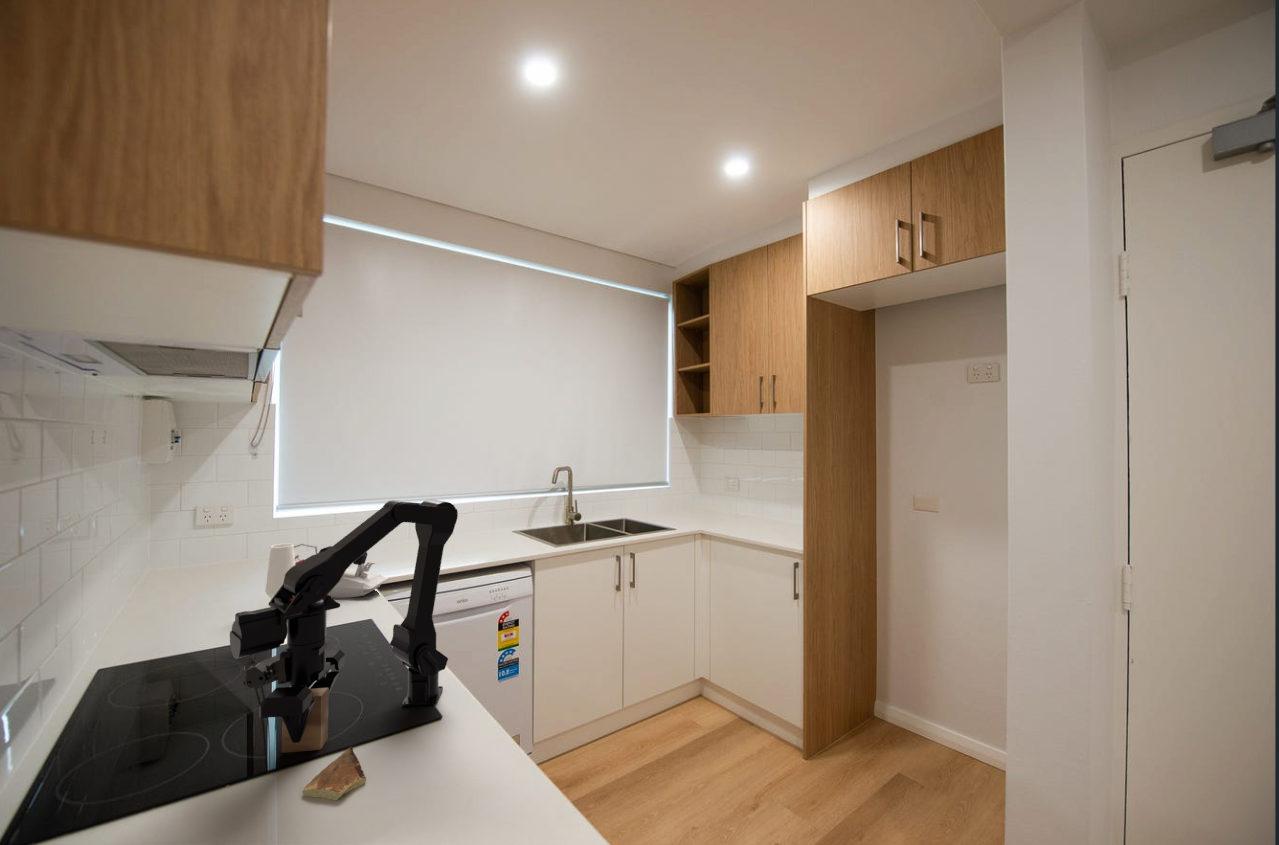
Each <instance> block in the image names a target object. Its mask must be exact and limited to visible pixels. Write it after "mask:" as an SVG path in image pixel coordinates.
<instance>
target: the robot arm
mask: <svg viewBox="0 0 1279 845" xmlns="http://www.w3.org/2000/svg"><path fill="white" fill-rule="evenodd" d="M458 512H459V511H458V508H456V506H455V505H454V504H452V503H451V502H449V501H444V500H437V499H433V498H432V499H426V500H423V501H422V502H421V503H420V502H411V501H409V502H407V501H399V500H395V499H392V500H389V501H387V502H385V503H384V505H382V507H381V508H380V509H378V511H375V513H374V514H372V515H371V516H370V517H368V518H367V519H366V520H365V521H363V522H361V523H360V524H359V525H357V526H356V527H355V528H354V529H353V530H351V531H350V532H349V533H348V534H346V535H345V536H343V538H341V539H340V540H339V541H337V542H336V543H335V544H333V545H331V546H332V547H331V548H329V549H327V550H325V551H323V552H320V553H319V552H317V553H318V554H316V553H315V554H313V556H312V555H311V556H308V557H307V558H306V559H304V560H303V559H302V560H303V561H302V562H300V563H298V564H296V565H295V566H293V567H291V568H290V569H289V570H288V571H287V573H286V574H285V578H284V582H283V583H284V584H283V585H282V586H281V587H280V589H279V590H278V591H277V593H276V594H275V595H274V597H273V598H272V599H271V598H270V601H269V602H268V606H269V607H265V608H260V609H256V610H255V609H254V610H246V611H241V612H237V613H235V615H234V621H233V622H232V625H231V631H229V646H230V651H231V654H232V656H233V658H234V659H235V660H237V659H241V658H246V657H249V656H253V655H257V654H260V653H264V652H267V651H270V650H275V649H278V648H279V647H280V646H281V645H280V644H284V641H285V639H286V637H287V644H286V648H285V649H283V650H282V651H281V652H280V653H279V654H276V655H273V656H272V657H269V658H267V659H264V660H262V661H259V662H258V663H256V664H255V665H251V666H250V667H248V668H247V669H246V670H245V674H244V675H243V677H244V681H243V682H242V683H243V685H244V686H246V687H247V688H248V689H251V690H252V691H256V690H259V689H260V688H261V687H263V686H267V685H268V684H271V683H274V682H276V681H277V684H278V685H283V684H284V685H285V684H287V683H289V686H285V687H283V686H282V687H276V688H275V689H274V690H273V691H271V692H270V693H269V694H268V695H267V696H266V697H265V698H264V699H263V700H262V701H261V702H260V703H259V704H258V717H259V718H260V719H265V718H269V719H270V718H279V717H280V718H281V720H282V719H283V721H284V723H285V725H286V728H287V730H288V733H289V735H290V738H291V740H292V742H293V743H298V742H300V741H301V738H302V736H303V733H304V731H305V728H306V725H307V722H308V720H309V717H310V714H311V712H312V709H313V706H314V703H315V700H311V699H312V691H311V690H310V689H315V688H329V694H330V693H331V690H332V689H333V687H334V684H335V682H336V681H337V678H338V677H339V675H340V670H341V669H342V668H343V667H344V666H345V664H346V653H344V652H343V651H342V650H341V649H332V650H330V649H329V650H327V649H328V647H330V645H331V642H332V640H331V638H327V620H328V619H327V618H328V616H327V615H328V614H327V612H328V611H330V610H334V609H339V608H340V607H341V603H340V602H338V601H336V600H335V599H334V598H333V597H331V596H330V595H328V594H329V592H330V591H331V590H332V589H333V588H334V587H335V586H336V585H337V584H338V583H339V581H340V580H341V578H342V576H343V575H344V573H345V571H346V570H347V568H350V566H352V565H353V562H355V561H356V560H357V559H358V558H360V557H361V556H362V555H363V554H364V553H366V552H367V553H368V551H369V550H370V549H372V548H373V547H374V546H376V545H377V544H378V543H379V542H380V541H382V540H383V539H384V538H385V537H386V536H388V535H389V534H390V533H392V532H393V531H394V530H396V528H398V527H399V526H400V525H401V524H403V523H411V524H415V525H414V528H415V533H416V537H417V541H418V548H417V555H416V560H415V565H414V572H413V579H412V583H411V590H410V596H409V602H408V607H407V613H406V616H405V618H404V619H403V620H402V622H401V624H398V623H397V624H393V627H392V638H391V640H390V642H389V646H391V647H392V654H393V655H394V656H395V657H396V659H398V660H400V662H401V664H402V666H405V667H407V694H406V696H405V698H404V700H403V701H402V703H401V704H402V705H401V706H402V707H412V706H425V705H426V706H427V705H436V704H437V703H438V702H439V700H440V697H441V694H442V692H443V689H444V688H443V686H441V685H439V675H440V674H439V672H441V671H444V670H445V669H446V667H447V664H448V660H449V657H447V656H446V655H444V653H442V652H441V651H439V650H438V649H437V631H436V628H435V624H434V618H433V616H434V615H433V614H434V611H435V610H434V609H435V603H436V597H437V591H438V586H439V580H440V579H439V578H440V573H441V567H442V566H441V565H442V560H443V554H444V548H445V546H446V543H448V541H449V540H450V538H451V536H452V535H453V533H454V530H455V527H456V524H457V521H458V516H459V515H458V514H459V513H458ZM292 597H294V599H293V600H292V601H290V599H291V598H292ZM284 645H285V644H284ZM331 666H334V669H335V670H334V671H332V667H331Z"/></svg>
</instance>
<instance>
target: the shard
mask: <svg viewBox="0 0 1279 845" xmlns="http://www.w3.org/2000/svg"><path fill="white" fill-rule="evenodd" d="M365 775H366V774H365V773H364V770H363V769H362V765H361V764H360V761H359V758H358V756H357V755H356V754H355V752H354V748H353V747H352V745H350V746H349V747H348V749H346V750H345V751H344V752H342V753H341V755H340V756H338V757H337V758H336V759H334V760H333V761H331V762H330V763H329V764H328V765H327V766H326V767H324V769H322V770H321V771H320V772H319V773H318V774H316V775H315V776H314V777H313V778H312V779H311V781H310V782H309V783H308V784H306V785H305V786H304V788H303V790H302V795H303V796H304V797H314V798H323V799H328V800H334V801H337V800H339V799H340V798H341V797H342V796H344V795H345V794H346V793H348V792H350V791H352V790H354V789H355V788H356V789H357V788H358V787H360V786H362V785H364V784H366V781H367V777H366V776H365Z"/></svg>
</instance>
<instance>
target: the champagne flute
mask: <svg viewBox="0 0 1279 845" xmlns="http://www.w3.org/2000/svg"><path fill="white" fill-rule="evenodd" d="M294 546H295V545H294V543H280V544H279V543H278V544H273V545H271V546H270V552H269V561H268V568H267V575H266V583H265V594H266V596H267V597H268V598H270V600H271V599H272V598H273V597H274V595H275V594H276V593H277V591H278V590H279V589H280V587H281V586H282V585H283V584H284V583H283V582H284V578H285V574H286V573H287V571H288V570H289V569H290V568H291V567H293V566H295V563H296V559H295V557H296V556H295V548H294ZM282 645H283V646H284V645H287V637H286V639H285V641H284V644H280V646H282Z"/></svg>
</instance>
